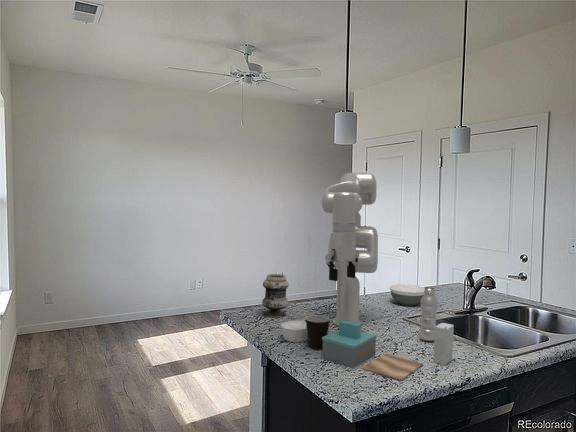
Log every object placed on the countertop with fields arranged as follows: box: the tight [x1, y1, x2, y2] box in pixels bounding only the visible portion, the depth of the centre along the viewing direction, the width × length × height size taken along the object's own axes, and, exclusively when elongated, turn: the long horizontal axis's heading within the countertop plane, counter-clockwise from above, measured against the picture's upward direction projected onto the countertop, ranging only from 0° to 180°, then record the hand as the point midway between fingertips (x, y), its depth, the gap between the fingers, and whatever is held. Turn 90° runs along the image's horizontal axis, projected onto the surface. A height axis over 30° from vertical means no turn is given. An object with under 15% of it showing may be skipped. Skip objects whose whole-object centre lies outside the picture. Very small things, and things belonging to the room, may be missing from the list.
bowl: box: [389, 283, 425, 307], centre depth 213 cm, size 19×19×8 cm
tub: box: [321, 338, 377, 368], centre depth 139 cm, size 14×12×6 cm
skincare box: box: [433, 322, 455, 366], centre depth 137 cm, size 6×4×12 cm
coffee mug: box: [305, 315, 331, 351], centre depth 150 cm, size 12×9×10 cm
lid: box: [322, 320, 377, 349], centre depth 139 cm, size 14×12×6 cm
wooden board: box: [361, 353, 424, 382], centre depth 131 cm, size 16×13×1 cm
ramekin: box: [280, 320, 308, 343], centre depth 157 cm, size 11×11×5 cm
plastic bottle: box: [418, 286, 439, 342], centre depth 157 cm, size 6×7×20 cm
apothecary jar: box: [261, 273, 290, 319], centre depth 188 cm, size 12×12×18 cm
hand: (342, 278), depth 141 cm, fingers open, 9 cm apart
